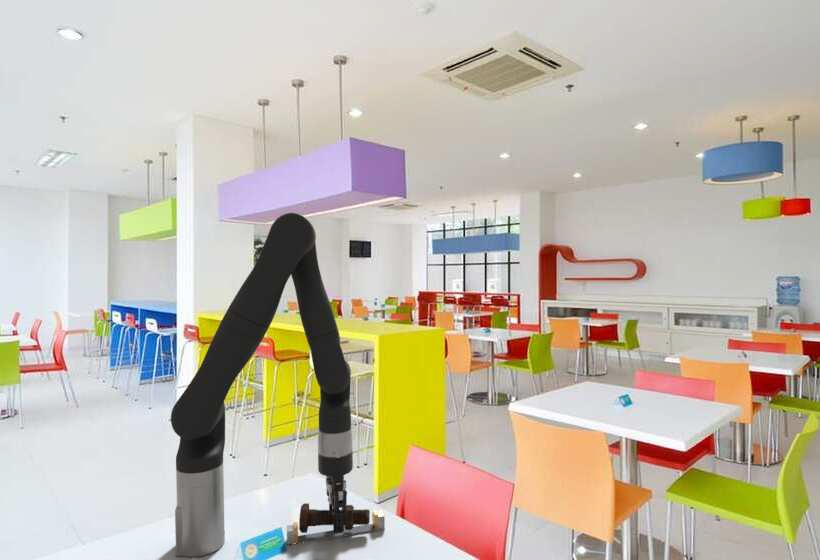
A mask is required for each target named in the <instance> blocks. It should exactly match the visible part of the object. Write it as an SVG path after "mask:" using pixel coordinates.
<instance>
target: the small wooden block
mask: <svg viewBox="0 0 820 560" xmlns="http://www.w3.org/2000/svg"><path fill="white" fill-rule="evenodd" d="M371 512H372V513H371V514H372V525H373V527H374V529H375V531H374V532H376V531H377V532H378V531H381V530H382V531H383V530H386V527H385V519H386V518H385V515H384V513H383V510H379V511H377V509H372V511H371Z"/></svg>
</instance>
